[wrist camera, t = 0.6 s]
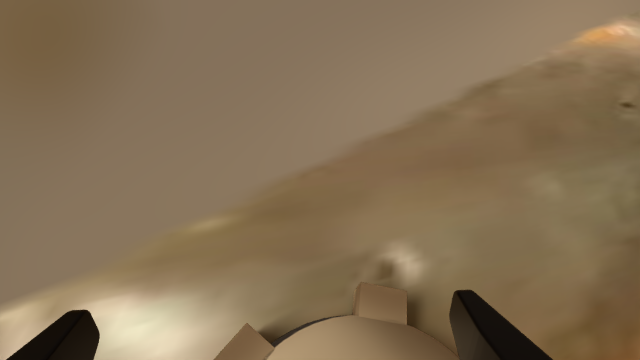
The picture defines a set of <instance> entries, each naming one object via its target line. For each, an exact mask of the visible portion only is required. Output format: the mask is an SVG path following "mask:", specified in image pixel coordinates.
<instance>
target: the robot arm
mask: <svg viewBox="0 0 640 360" xmlns="http://www.w3.org/2000/svg"><path fill="white" fill-rule="evenodd" d="M449 316H450V323H451V327H452V331H453V335H454V339H455V342H456V346H457V350H458V354H459V358H460V360H553V359H552V358H550V357H549V356H548V355H547V354H546V353H545V352H543V351H542V350H541V349H540V348H539V347H538V346H536V345H535V344H534V343H533V342H532V341H531V340H530V339H528V338H527V337H526V336H525V335H524V334H523V333H521V332H520V331H519V330H518V329H517V328H516V327H514V326H513V325H512V324H511V323H510V322H509V321H507V320H506V319H505V318H504V317H503V316H502V315H501V314H499V313H498V312H497V311H496V310H495V309H494V308H492V307H491V306H490V305H489V304H488V303H487V302H485V301H484V300H483V299H482V298H481V297H480V296H478V295H477V294H476V293H475V292H474V291H472V290H457V291H455V292H454V294H453V298H452V303H451V308H450V314H449ZM99 338H100V334H99V330H98V328H97V326H96V324H95V322H94V320H93V318H92V315H91V313H90V312H89V311H88V310H72V311H69V312H67V313H65V314H64V315H63V316H62V317H60V318H59V319H58V320H56V321H55V322H54V323H53V324H51V325H50V326H49V327H48V328H46V329H45V330H44V331H42V332H41V333H40V334H39V335H37V336H36V337H35V338H33V339H32V340H31V341H30V342H28V343H27V344H26V345H24V346H23V347H22V348H21V349H19V350H18V351H17V352H15V353H14V354H13V355H12V356H10V357H9V358H8V359H7V360H94V356H95V353H96V350H97V346H98V343H99Z"/></svg>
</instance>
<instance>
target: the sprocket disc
mask: <svg viewBox="0 0 640 360" xmlns="http://www.w3.org/2000/svg"><path fill="white" fill-rule="evenodd" d="M214 360H460V359H459V358H458V357H457V356H456V355H455V354H454V353H452V352H451V351H450V350H449V349H448V348H447V347H445V346H444V345H442V344H441V343H440V342H438V341H437V340H435V339H434V338H433V337H431V336H429V335H427V334H426V333H424V332H422V331H420V330H418V329H416V328H414V327H412V326H409V325H407V291H404V290H399V289H394V288H389V287H384V286H379V285H373V284H368V283H363V282H361V283H360V284H359V286H358V287H357V288H356V290H355V291H354V301H353V313H352V315H349V316H342V317H336V318H331V319H327V320H324V321H321V322H317V323H315V324H312V325H310V326H308V327H306V328H304V329H302V330H299V331H298V332H296V333H295V334H293V335H292V336H290V337H288V338H287V339H285V340H284V341H282V342H281V343H280V344H279V345H278V346H276V347H275V348H274V347H273V346H272V345H271V344H270V343H269V342H268V341H266V340H265V339H264V338H263V337H262V336H261V335H260V334H259V333H258V332H257V331H255V330H254V329H253V328H252V327H251V326H250V325H249V324H248V323H246V324H245V325H244V326H243V327H242V329H241V330H240V331H239V332H238V333H237V334H236V335H235V336H234V338H233V339H232V340H231V341H230V342H229V343H228V344H227V345H226V346H225V348H224V349H223V350H222V351H221V352H220V353H219V354H218V355H217V357H216V358H215V359H214Z"/></svg>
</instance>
